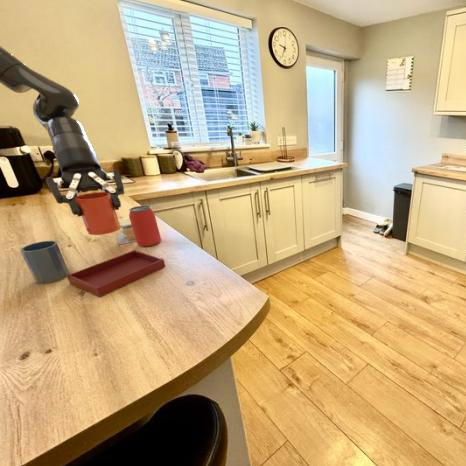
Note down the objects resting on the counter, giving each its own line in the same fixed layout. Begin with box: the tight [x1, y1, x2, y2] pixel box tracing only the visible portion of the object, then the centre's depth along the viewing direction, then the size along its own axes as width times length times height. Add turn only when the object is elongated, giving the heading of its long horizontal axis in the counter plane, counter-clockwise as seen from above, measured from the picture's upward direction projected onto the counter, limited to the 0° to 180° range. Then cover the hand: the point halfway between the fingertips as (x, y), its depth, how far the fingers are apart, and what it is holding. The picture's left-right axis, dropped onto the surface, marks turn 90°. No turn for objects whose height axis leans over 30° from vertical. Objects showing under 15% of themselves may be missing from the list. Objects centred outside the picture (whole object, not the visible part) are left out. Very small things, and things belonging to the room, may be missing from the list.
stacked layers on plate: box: [116, 218, 137, 245], centre depth 98 cm, size 10×9×6 cm
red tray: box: [66, 249, 166, 298], centre depth 76 cm, size 16×13×2 cm
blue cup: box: [20, 240, 71, 285], centre depth 73 cm, size 6×6×9 cm
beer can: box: [128, 205, 162, 247], centre depth 92 cm, size 7×7×12 cm
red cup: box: [75, 191, 122, 236], centre depth 71 cm, size 6×6×9 cm
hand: (98, 211), depth 69 cm, fingers closed on red cup, 6 cm apart
